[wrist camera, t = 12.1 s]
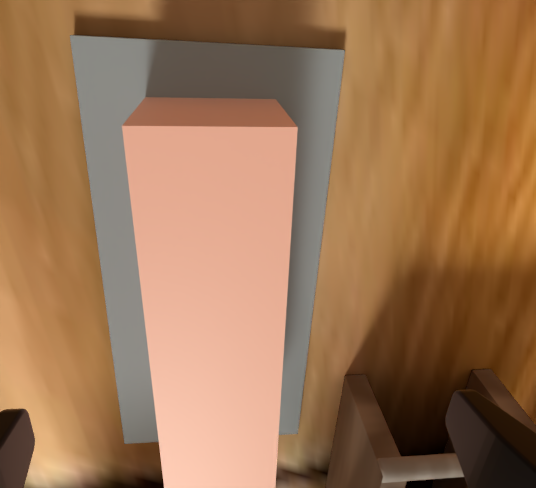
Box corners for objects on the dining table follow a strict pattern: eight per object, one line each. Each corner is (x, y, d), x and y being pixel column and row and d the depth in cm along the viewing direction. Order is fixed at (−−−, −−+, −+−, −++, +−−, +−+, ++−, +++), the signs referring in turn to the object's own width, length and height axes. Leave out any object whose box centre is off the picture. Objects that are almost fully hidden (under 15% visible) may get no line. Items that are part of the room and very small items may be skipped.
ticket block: (275, 99, 17) (297, 127, 13) (263, 409, 25) (274, 494, 21) (145, 97, 17) (121, 125, 12) (174, 415, 24) (166, 503, 20)
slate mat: (341, 49, 17) (345, 50, 17) (296, 426, 27) (297, 433, 26) (73, 34, 16) (70, 35, 16) (126, 436, 25) (124, 443, 25)
